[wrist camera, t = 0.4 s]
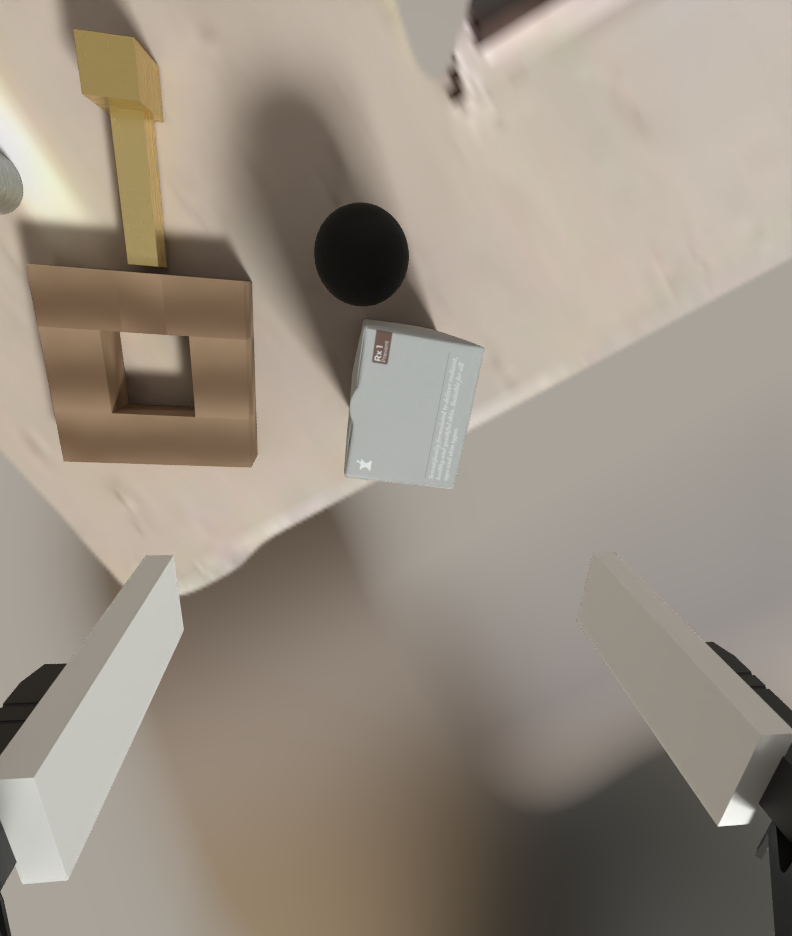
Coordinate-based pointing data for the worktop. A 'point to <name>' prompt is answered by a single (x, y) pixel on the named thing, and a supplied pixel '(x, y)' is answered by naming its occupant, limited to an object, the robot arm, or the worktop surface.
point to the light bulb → (361, 254)
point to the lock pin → (129, 133)
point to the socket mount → (103, 376)
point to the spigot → (9, 186)
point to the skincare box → (410, 404)
